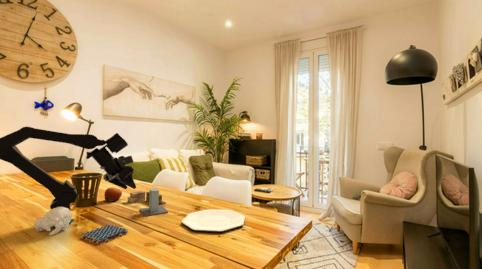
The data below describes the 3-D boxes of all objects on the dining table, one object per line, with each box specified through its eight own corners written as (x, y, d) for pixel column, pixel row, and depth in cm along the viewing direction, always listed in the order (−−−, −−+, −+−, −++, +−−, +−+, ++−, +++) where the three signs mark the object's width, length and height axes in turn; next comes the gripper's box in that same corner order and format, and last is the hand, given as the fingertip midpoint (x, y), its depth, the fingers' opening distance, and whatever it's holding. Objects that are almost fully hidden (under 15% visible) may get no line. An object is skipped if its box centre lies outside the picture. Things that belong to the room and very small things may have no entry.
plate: (246, 214, 103) (246, 210, 103) (241, 236, 79) (241, 231, 79) (193, 211, 105) (193, 208, 105) (173, 232, 81) (173, 228, 81)
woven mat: (100, 247, 70) (100, 240, 70) (79, 240, 75) (79, 233, 75) (130, 234, 80) (130, 228, 80) (109, 229, 84) (110, 223, 84)
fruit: (96, 200, 116) (104, 184, 120) (108, 204, 122) (114, 189, 126) (109, 201, 114) (116, 185, 118) (120, 206, 120) (126, 191, 124)
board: (151, 212, 101) (151, 191, 101) (149, 209, 105) (149, 188, 105) (158, 211, 102) (158, 190, 102) (156, 208, 106) (156, 188, 107)
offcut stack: (131, 203, 116) (131, 194, 116) (127, 201, 119) (127, 193, 119) (145, 200, 121) (145, 192, 121) (140, 199, 124) (141, 190, 124)
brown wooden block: (158, 205, 113) (159, 196, 113) (146, 200, 121) (146, 192, 121) (165, 203, 116) (165, 194, 116) (153, 199, 124) (153, 191, 124)
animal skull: (56, 209, 76) (26, 211, 78) (57, 236, 76) (27, 236, 78) (73, 204, 82) (45, 205, 84) (74, 229, 82) (46, 229, 84)
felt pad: (143, 216, 97) (143, 215, 97) (140, 210, 105) (140, 208, 105) (167, 212, 102) (168, 211, 102) (163, 207, 110) (163, 205, 110)
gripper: (131, 145, 95) (154, 174, 100) (114, 151, 107) (136, 176, 112) (107, 163, 87) (134, 193, 93) (92, 167, 100) (116, 193, 105)
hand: (130, 188), depth 101 cm, fingers open, 9 cm apart
